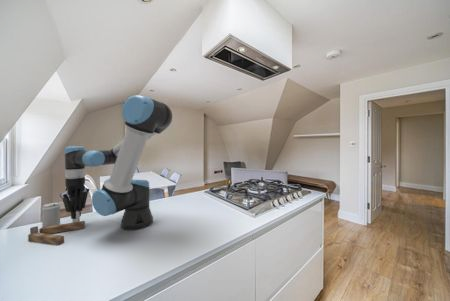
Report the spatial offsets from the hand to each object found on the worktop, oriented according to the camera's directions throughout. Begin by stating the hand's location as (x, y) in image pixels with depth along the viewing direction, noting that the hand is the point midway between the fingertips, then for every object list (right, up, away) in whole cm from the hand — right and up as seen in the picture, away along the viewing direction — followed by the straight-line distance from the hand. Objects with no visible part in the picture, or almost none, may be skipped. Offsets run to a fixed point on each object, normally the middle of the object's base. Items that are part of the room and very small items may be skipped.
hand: (76, 224), depth 90 cm
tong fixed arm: (-2, -2, -13) cm, 13 cm away
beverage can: (-11, -2, -1) cm, 11 cm away
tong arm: (-3, -1, -4) cm, 5 cm away
